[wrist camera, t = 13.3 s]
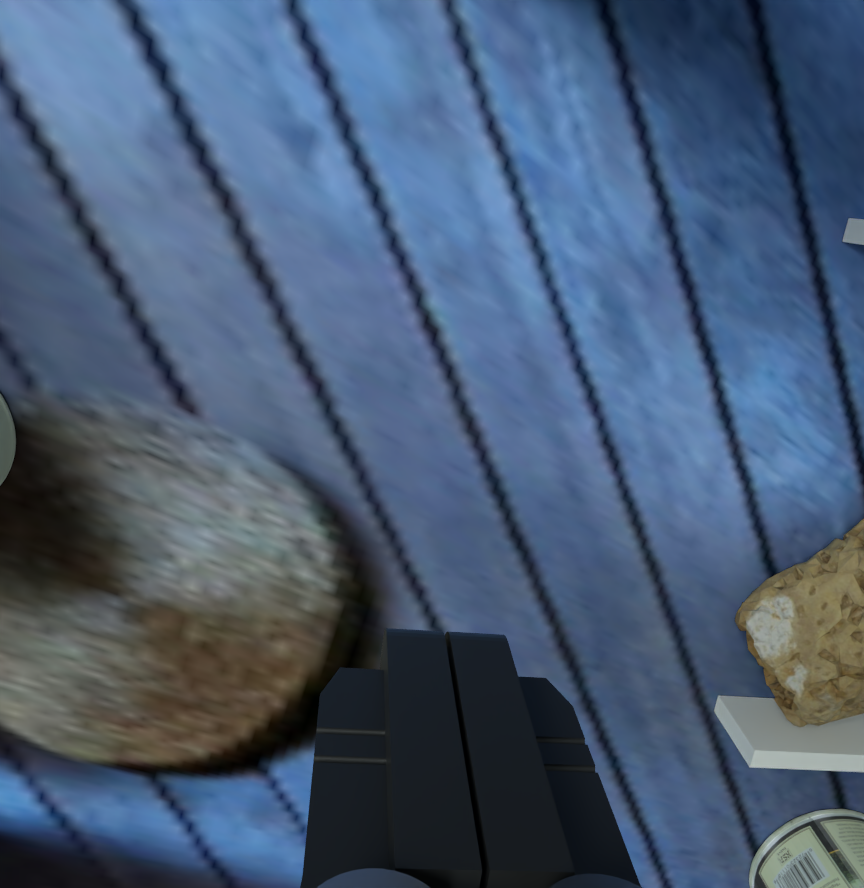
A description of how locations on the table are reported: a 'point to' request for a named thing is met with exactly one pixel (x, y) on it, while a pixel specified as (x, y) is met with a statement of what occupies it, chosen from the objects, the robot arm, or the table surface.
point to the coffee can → (813, 852)
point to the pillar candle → (6, 440)
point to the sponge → (812, 633)
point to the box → (766, 727)
